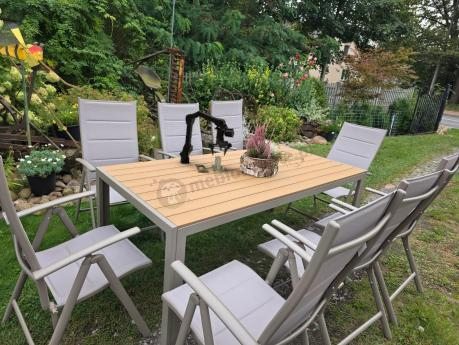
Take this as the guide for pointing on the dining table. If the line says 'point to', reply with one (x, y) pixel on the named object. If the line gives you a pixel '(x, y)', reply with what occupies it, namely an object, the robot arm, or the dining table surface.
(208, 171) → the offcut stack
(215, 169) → the holder
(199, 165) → the frame
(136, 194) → the dining table surface
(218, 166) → the long rectangular block
